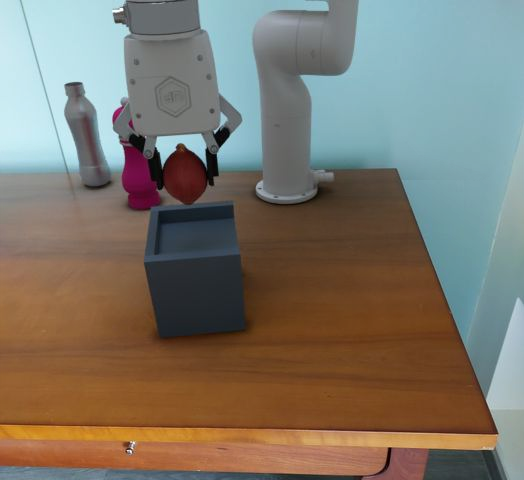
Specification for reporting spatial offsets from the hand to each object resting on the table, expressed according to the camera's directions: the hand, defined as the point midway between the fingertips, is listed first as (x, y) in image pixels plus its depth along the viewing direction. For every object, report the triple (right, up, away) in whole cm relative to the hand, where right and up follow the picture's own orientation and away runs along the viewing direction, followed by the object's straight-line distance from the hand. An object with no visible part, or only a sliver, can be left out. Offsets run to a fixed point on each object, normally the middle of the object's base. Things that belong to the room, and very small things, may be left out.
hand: (186, 182), depth 67 cm
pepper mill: (-14, +8, +40) cm, 43 cm away
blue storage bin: (+1, -14, +12) cm, 18 cm away
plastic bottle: (-26, +15, +48) cm, 57 cm away
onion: (0, -2, +2) cm, 3 cm away
